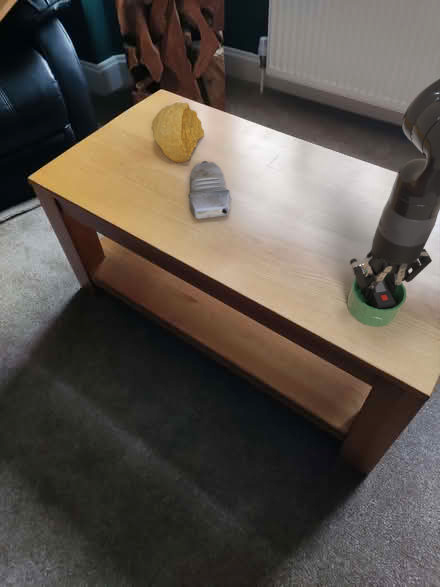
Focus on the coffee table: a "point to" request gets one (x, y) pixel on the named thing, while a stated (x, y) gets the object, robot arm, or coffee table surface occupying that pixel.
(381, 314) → the bowl
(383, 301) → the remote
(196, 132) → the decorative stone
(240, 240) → the coffee table surface
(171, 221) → the coffee table surface
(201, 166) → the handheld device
